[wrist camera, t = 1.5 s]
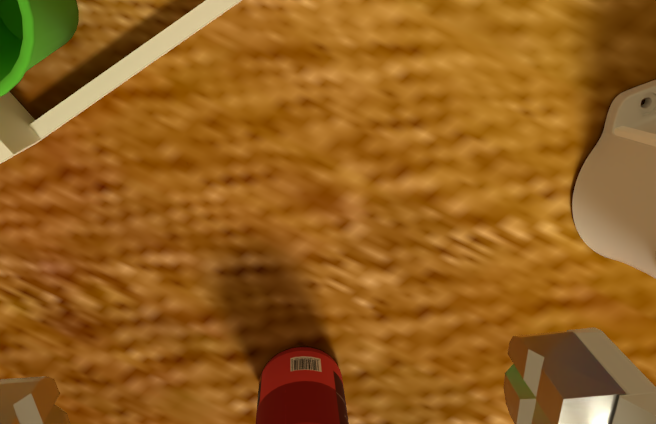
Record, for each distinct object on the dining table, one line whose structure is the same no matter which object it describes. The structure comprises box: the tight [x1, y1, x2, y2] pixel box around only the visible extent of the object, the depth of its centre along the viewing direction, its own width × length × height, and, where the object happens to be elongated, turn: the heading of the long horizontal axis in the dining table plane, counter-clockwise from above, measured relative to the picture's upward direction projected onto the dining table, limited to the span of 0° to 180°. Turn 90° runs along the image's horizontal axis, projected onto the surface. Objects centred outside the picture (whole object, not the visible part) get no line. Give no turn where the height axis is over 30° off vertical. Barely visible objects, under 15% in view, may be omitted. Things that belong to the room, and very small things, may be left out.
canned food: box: [256, 347, 349, 424], centre depth 42 cm, size 8×8×11 cm
